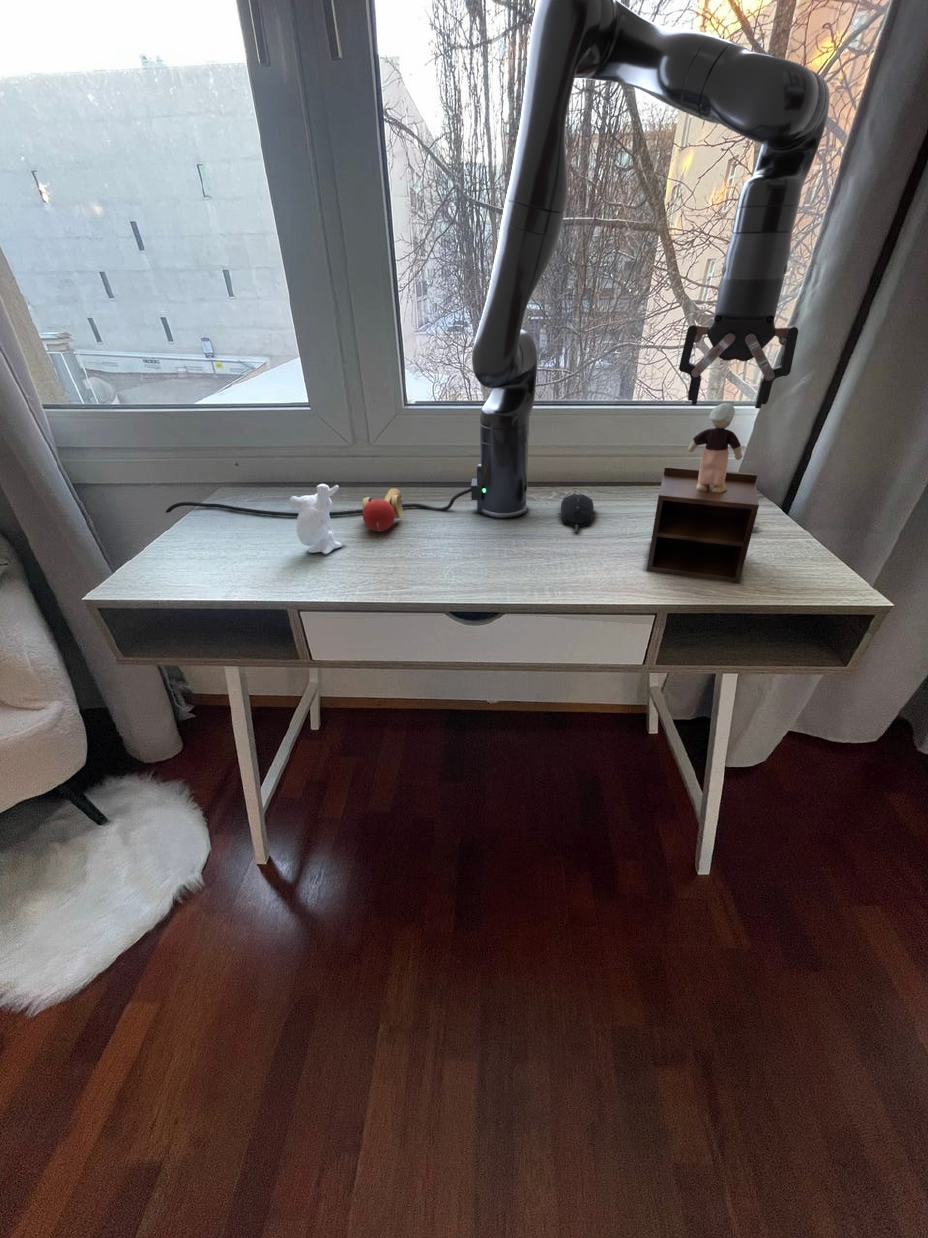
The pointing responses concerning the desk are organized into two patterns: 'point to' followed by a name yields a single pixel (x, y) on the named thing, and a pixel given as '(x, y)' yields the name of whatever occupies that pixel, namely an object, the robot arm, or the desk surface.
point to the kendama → (382, 510)
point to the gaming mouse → (577, 510)
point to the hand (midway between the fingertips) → (725, 405)
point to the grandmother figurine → (716, 449)
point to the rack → (703, 525)
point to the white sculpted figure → (316, 520)
